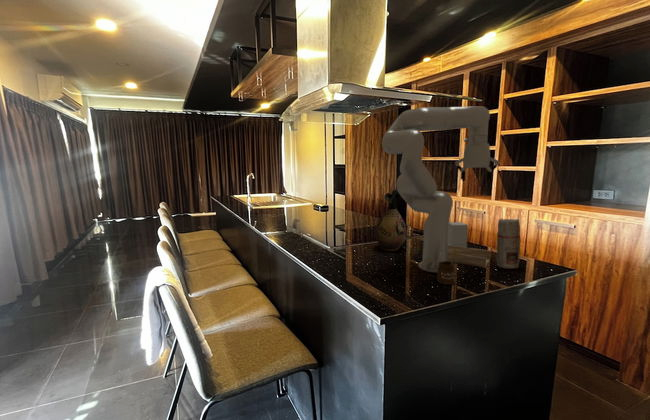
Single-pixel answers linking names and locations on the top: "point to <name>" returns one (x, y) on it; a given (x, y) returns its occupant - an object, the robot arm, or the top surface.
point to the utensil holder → (446, 271)
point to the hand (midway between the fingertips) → (475, 181)
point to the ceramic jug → (391, 225)
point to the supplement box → (457, 234)
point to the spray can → (508, 243)
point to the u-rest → (469, 256)
